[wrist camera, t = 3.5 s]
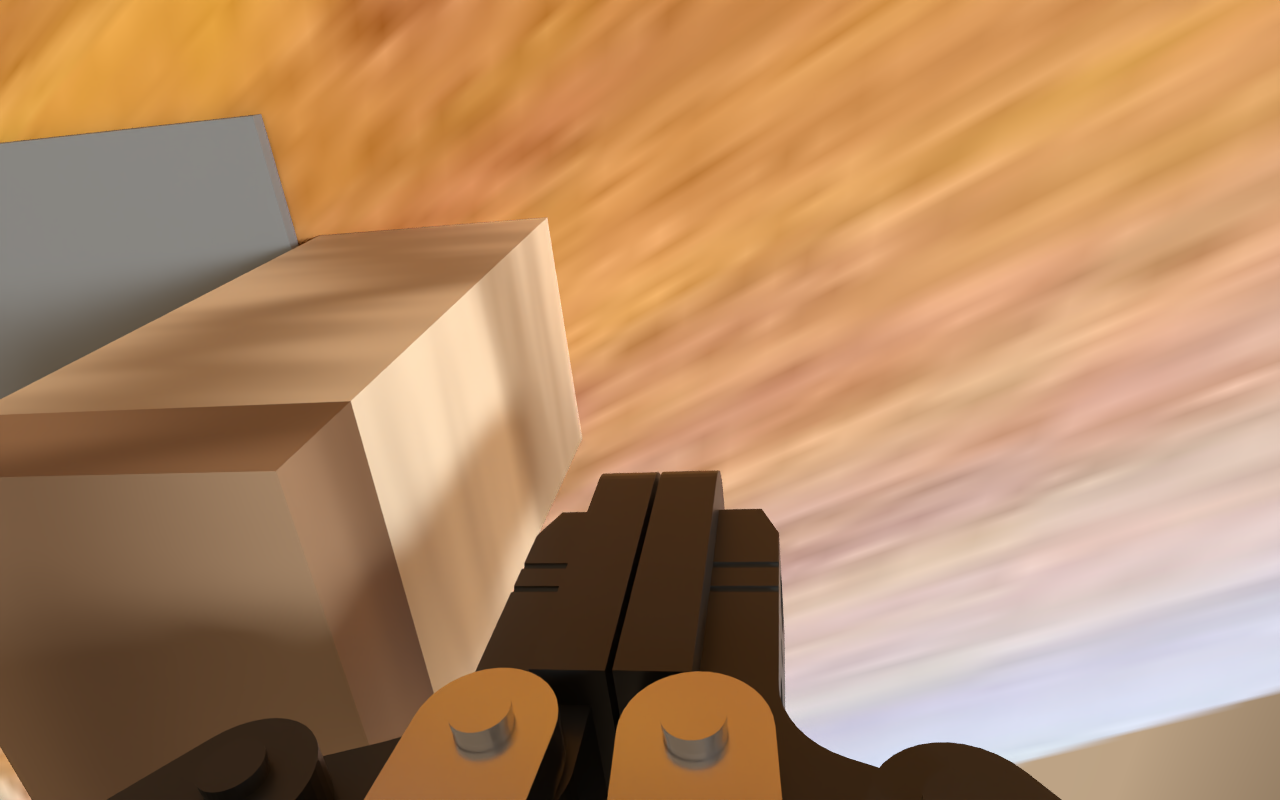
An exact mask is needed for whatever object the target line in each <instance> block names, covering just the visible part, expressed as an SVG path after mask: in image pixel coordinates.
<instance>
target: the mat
mask: <svg viewBox="0 0 1280 800" xmlns="http://www.w3.org/2000/svg"><path fill="white" fill-rule="evenodd" d="M298 246H299V244H298V241H297V237H296V234H295V230H294V227H293V223H292V220H291V217H290V213H289V210H288V206H287V203H286V199H285V196H284V192H283V189H282V185H281V182H280V178H279V175H278V171H277V168H276V164H275V161H274V157H273V154H272V151H271V147H270V144H269V140H268V137H267V133H266V130H265V126H264V123H263V119H262V116H261V114H258V115H249V116H240V117H231V118H222V119H213V120H204V121H195V122H186V123H177V124H168V125H159V126H150V127H141V128H131V129H122V130H113V131H104V132H95V133H86V134H77V135H68V136H59V137H50V138H41V139H32V140H23V141H14V142H5V143H0V399H2V398H4V397H6V396H8V395H10V394H12V393H14V392H16V391H18V390H20V389H22V388H24V387H26V386H27V385H29V384H31V383H33V382H35V381H37V380H39V379H41V378H43V377H45V376H47V375H49V374H51V373H53V372H55V371H57V370H59V369H61V368H62V367H64V366H66V365H68V364H70V363H72V362H74V361H76V360H78V359H80V358H82V357H84V356H86V355H88V354H90V353H92V352H94V351H96V350H97V349H99V348H101V347H103V346H105V345H107V344H109V343H111V342H113V341H115V340H117V339H119V338H121V337H123V336H125V335H127V334H129V333H131V332H133V331H134V330H136V329H138V328H140V327H142V326H144V325H146V324H148V323H150V322H152V321H154V320H156V319H158V318H160V317H162V316H164V315H166V314H168V313H169V312H171V311H173V310H175V309H177V308H179V307H181V306H183V305H185V304H187V303H189V302H191V301H193V300H195V299H197V298H199V297H201V296H203V295H205V294H206V293H208V292H210V291H212V290H214V289H216V288H218V287H220V286H222V285H224V284H226V283H228V282H230V281H232V280H234V279H236V278H238V277H240V276H241V275H243V274H245V273H247V272H249V271H251V270H253V269H255V268H257V267H259V266H261V265H263V264H265V263H267V262H269V261H271V260H273V259H275V258H277V257H278V256H280V255H282V254H284V253H286V252H288V251H290V250H292V249H294V248H296V247H298Z"/></svg>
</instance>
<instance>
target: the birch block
mask: <svg viewBox="0 0 1280 800" xmlns="http://www.w3.org/2000/svg"><path fill="white" fill-rule="evenodd" d="M581 440H582V433H581V427H580V421H579V415H578V408H577V402H576V396H575V390H574V383H573V377H572V371H571V364H570V358H569V352H568V346H567V339H566V333H565V327H564V320H563V314H562V308H561V302H560V295H559V289H558V283H557V276H556V270H555V264H554V258H553V251H552V245H551V239H550V232H549V226H548V220H547V218H534V219H521V220H509V221H496V222H484V223H471V224H459V225H446V226H433V227H421V228H408V229H396V230H383V231H371V232H358V233H345V234H333V235H320V236H317V237H315V238H313V239H312V240H310V241H308V242H306V243H304V244H302V245H300V246H298V247H296V248H294V249H292V250H290V251H288V252H286V253H284V254H282V255H280V256H278V257H277V258H275V259H273V260H271V261H269V262H267V263H265V264H263V265H261V266H259V267H257V268H255V269H253V270H251V271H249V272H247V273H245V274H243V275H241V276H240V277H238V278H236V279H234V280H232V281H230V282H228V283H226V284H224V285H222V286H220V287H218V288H216V289H214V290H212V291H210V292H208V293H206V294H205V295H203V296H201V297H199V298H197V299H195V300H193V301H191V302H189V303H187V304H185V305H183V306H181V307H179V308H177V309H175V310H173V311H171V312H169V313H168V314H166V315H164V316H162V317H160V318H158V319H156V320H154V321H152V322H150V323H148V324H146V325H144V326H142V327H140V328H138V329H136V330H134V331H133V332H131V333H129V334H127V335H125V336H123V337H121V338H119V339H117V340H115V341H113V342H111V343H109V344H107V345H105V346H103V347H101V348H99V349H97V350H96V351H94V352H92V353H90V354H88V355H86V356H84V357H82V358H80V359H78V360H76V361H74V362H72V363H70V364H68V365H66V366H64V367H62V368H61V369H59V370H57V371H55V372H53V373H51V374H49V375H47V376H45V377H43V378H41V379H39V380H37V381H35V382H33V383H31V384H29V385H27V386H26V387H24V388H22V389H20V390H18V391H16V392H14V393H12V394H10V395H8V396H6V397H4V398H2V399H0V747H1V749H2V750H3V752H4V754H5V755H6V757H7V759H8V760H9V762H10V764H11V765H12V767H13V769H14V770H15V772H16V774H17V776H18V777H19V779H20V781H21V782H22V784H23V786H24V787H25V789H26V791H27V792H28V794H29V796H30V797H31V799H32V800H107V799H108V798H110V797H112V796H113V795H115V794H117V793H119V792H120V791H122V790H124V789H125V788H127V787H129V786H130V785H132V784H134V783H136V782H137V781H139V780H141V779H142V778H144V777H146V776H148V775H149V774H151V773H153V772H154V771H156V770H158V769H159V768H161V767H163V766H165V765H166V764H168V763H170V762H171V761H173V760H175V759H177V758H178V757H180V756H182V755H183V754H185V753H187V752H188V751H190V750H192V749H194V748H195V747H197V746H199V745H200V744H202V743H204V742H206V741H207V740H209V739H211V738H212V737H214V736H216V735H218V734H220V733H222V732H224V731H226V730H228V729H231V728H233V727H236V726H238V725H241V724H244V723H248V722H251V721H255V720H261V719H268V718H284V719H291V720H294V721H298V722H300V723H302V724H304V725H306V726H307V727H308V728H309V729H310V730H311V731H312V732H313V734H314V736H315V737H316V739H317V742H318V745H319V747H320V750H321V753H322V755H323V756H325V755H329V754H334V753H338V752H342V751H346V750H350V749H355V748H359V747H363V746H367V745H372V744H376V743H380V742H384V741H388V740H391V739H395V738H398V737H401V736H402V735H403V734H404V732H405V730H406V729H407V727H408V726H409V724H410V722H411V721H412V719H413V717H414V716H415V714H416V713H417V711H418V710H419V709H420V707H421V706H422V705H423V704H424V703H425V702H426V701H427V699H428V698H429V697H430V696H432V695H433V694H434V693H435V692H437V691H438V690H439V689H440V688H442V687H444V686H445V685H447V684H448V683H450V682H452V681H454V680H456V679H458V678H460V677H462V676H465V675H468V674H470V673H473V672H475V671H476V669H477V666H478V664H479V662H480V660H481V657H482V655H483V653H484V651H485V649H486V646H487V644H488V642H489V640H490V638H491V635H492V633H493V631H494V629H495V627H496V624H497V622H498V620H499V618H500V616H501V613H502V611H503V609H504V607H505V605H506V602H507V600H508V598H509V596H510V594H511V592H513V590H514V585H515V582H516V580H517V578H518V576H519V574H520V571H521V569H523V568H524V563H525V560H526V558H527V556H528V554H529V552H530V549H531V547H532V545H533V543H534V541H535V538H536V536H537V535H538V534H539V533H540V531H541V528H542V526H543V524H544V522H545V520H546V517H547V515H548V513H549V511H550V509H551V506H552V504H553V502H554V500H555V497H556V495H557V493H558V491H559V489H560V486H561V484H562V482H563V480H564V478H565V475H566V473H567V471H568V469H569V467H570V464H571V462H572V460H573V458H574V456H575V453H576V451H577V449H578V447H579V445H580V442H581Z"/></svg>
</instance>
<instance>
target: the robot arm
mask: <svg viewBox="0 0 1280 800" xmlns="http://www.w3.org/2000/svg"><path fill="white" fill-rule="evenodd" d="M784 664H785V646H784V616H783V598H782V580H781V562H780V544H779V533H778V531H777V530H776V528H775V527H774V526H773V524H772V523H771V521H770V520H769V519H768V517H767V516H766V514H765V513H764V512H763V510H762V509H733V510H724V498H723V487H722V479H721V474H720V471H682V472H662V474H661V475H660V473H659V472H651V473H612V474H602V476H601V477H600V479H599V482H598V485H597V487H596V490H595V493H594V495H593V498H592V501H591V503H590V506H589V509H588V511H587V512H570V513H562V514H561V515H560V516H558V517H557V518H556V519H555V520H554V521H553V522H552V523H551V524H549V525H548V526H547V527H546V528H545V529H544V530H543V531H542V532H541V533H539V534H538V535H537V536H536V538H535V541H534V543H533V545H532V547H531V549H530V552H529V554H528V556H527V558H526V560H525V563H524V569H521V571H520V574H519V576H518V578H517V580H516V582H515V585H514V592H511V594H510V596H509V598H508V600H507V602H506V605H505V607H504V609H503V611H502V613H501V616H500V618H499V620H498V622H497V624H496V627H495V629H494V631H493V633H492V635H491V638H490V640H489V642H488V644H487V646H486V649H485V651H484V653H483V655H482V657H481V660H480V662H479V664H478V666H477V669H476V671H475V672H473V673H470V674H468V675H465V676H462V677H460V678H458V679H456V680H454V681H452V682H450V683H448V684H447V685H445V686H444V687H442V688H440V689H439V690H438V691H437V692H435V693H434V694H433V695H432V696H430V697H429V698H428V699H427V701H426V702H425V703H424V704H423V705H422V706H421V707H420V709H419V710H418V711H417V713H416V714H415V716H414V717H413V719H412V721H411V722H410V724H409V726H408V727H407V729H406V730H405V732H404V734H403V735H402V736H401V737H398V738H395V739H391V740H388V741H384V742H380V743H376V744H372V745H367V746H363V747H359V748H355V749H350V750H346V751H342V752H338V753H334V754H329V755H325V756H323V755H322V753H321V750H320V747H319V745H318V742H317V739H316V737H315V736H314V734H313V732H312V731H311V730H310V729H309V728H308V727H307V726H306V725H304V724H302V723H300V722H298V721H294V720H291V719H284V718H268V719H261V720H255V721H251V722H248V723H244V724H241V725H238V726H236V727H233V728H231V729H228V730H226V731H224V732H222V733H220V734H218V735H216V736H214V737H212V738H211V739H209V740H207V741H206V742H204V743H202V744H200V745H199V746H197V747H195V748H194V749H192V750H190V751H188V752H187V753H185V754H183V755H182V756H180V757H178V758H177V759H175V760H173V761H171V762H170V763H168V764H166V765H165V766H163V767H161V768H159V769H158V770H156V771H154V772H153V773H151V774H149V775H148V776H146V777H144V778H142V779H141V780H139V781H137V782H136V783H134V784H132V785H130V786H129V787H127V788H125V789H124V790H122V791H120V792H119V793H117V794H115V795H113V796H112V797H110V798H108V799H107V800H1061V799H1060V798H1059V797H1057V796H1056V795H1055V794H1053V793H1052V792H1051V791H1050V790H1048V789H1047V788H1046V787H1044V786H1043V785H1042V784H1041V783H1039V782H1038V781H1037V780H1036V779H1034V778H1033V777H1032V776H1030V775H1029V774H1028V773H1027V772H1025V771H1024V770H1022V769H1021V768H1019V767H1018V766H1016V765H1015V764H1014V763H1012V762H1010V761H1008V760H1006V759H1004V758H1003V757H1001V756H999V755H997V754H994V753H992V752H989V751H986V750H984V749H981V748H977V747H973V746H969V745H965V744H957V743H949V742H947V743H928V744H921V745H917V746H914V747H910V748H907V749H905V750H903V751H901V752H899V753H897V754H895V755H893V756H892V757H891V758H889V759H888V760H887V761H885V762H884V763H883V764H882V766H881V767H880V768H878V767H875V766H872V765H868V764H865V763H862V762H859V761H856V760H853V759H849V758H846V757H844V756H841V755H839V754H836V753H833V752H831V751H829V750H827V749H826V748H824V747H822V746H820V745H818V744H817V743H815V742H814V741H813V740H811V739H810V738H808V737H807V736H806V735H805V734H804V733H803V732H802V731H800V730H799V729H798V728H797V727H796V725H795V724H794V723H793V722H792V720H791V719H790V718H789V716H788V714H787V712H786V711H785V665H784Z"/></svg>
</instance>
